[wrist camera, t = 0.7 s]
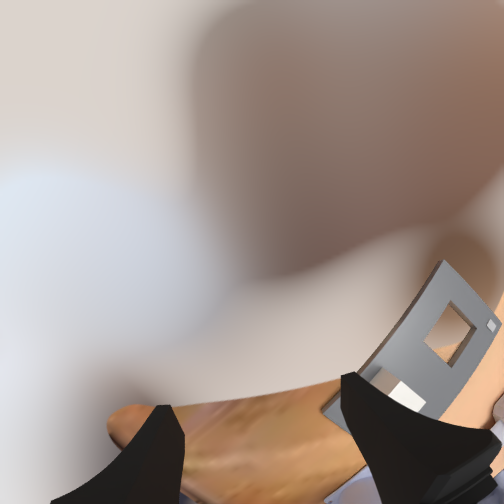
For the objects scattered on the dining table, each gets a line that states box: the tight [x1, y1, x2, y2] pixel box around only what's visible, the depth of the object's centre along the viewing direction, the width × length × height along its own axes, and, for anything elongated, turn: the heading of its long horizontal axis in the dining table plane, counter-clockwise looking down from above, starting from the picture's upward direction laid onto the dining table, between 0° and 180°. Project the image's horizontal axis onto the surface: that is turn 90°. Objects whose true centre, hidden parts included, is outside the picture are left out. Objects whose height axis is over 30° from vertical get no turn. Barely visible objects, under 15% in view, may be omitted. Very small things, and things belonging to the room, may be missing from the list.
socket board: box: [322, 260, 502, 435], centre depth 27 cm, size 13×22×2 cm, turn 139°
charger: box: [369, 367, 426, 412], centre depth 23 cm, size 4×4×6 cm
